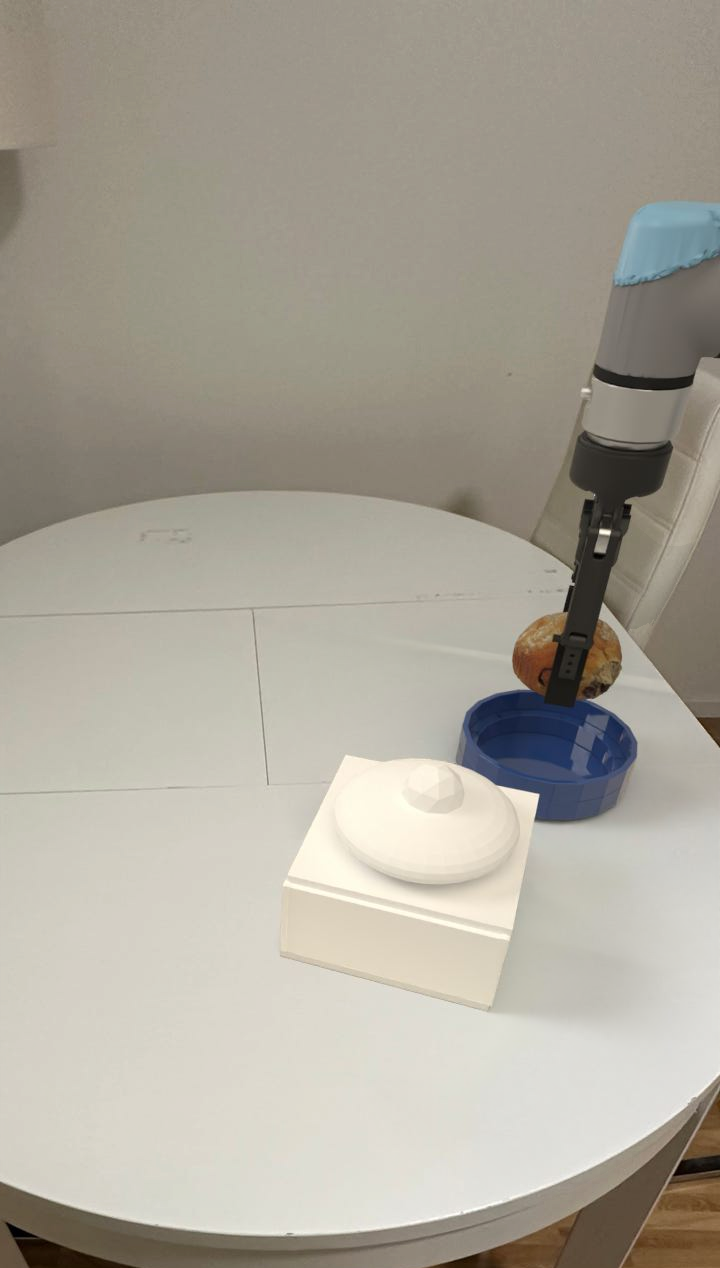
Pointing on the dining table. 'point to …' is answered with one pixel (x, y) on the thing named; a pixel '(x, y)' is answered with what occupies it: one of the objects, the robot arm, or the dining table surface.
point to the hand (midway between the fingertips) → (563, 675)
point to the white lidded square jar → (410, 878)
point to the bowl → (550, 751)
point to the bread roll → (539, 653)
